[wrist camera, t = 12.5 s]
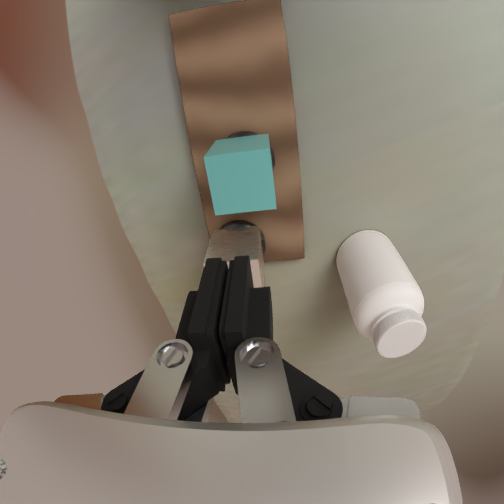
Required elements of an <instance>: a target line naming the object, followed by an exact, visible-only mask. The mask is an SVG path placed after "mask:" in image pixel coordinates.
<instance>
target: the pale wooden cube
mask: <svg viewBox="0 0 504 504" xmlns="http://www.w3.org/2000/svg"><path fill="white" fill-rule="evenodd" d="M265 249H266V246H265V236H264V234H263V232H262V231H261V229H260V227H259V226H257V225H255V224H254V223H252V222H249V221H246V220H233V221H229V222H227V223H225V224H224V225H222V226H221V227H220V228H219V230H213V232H212V235H211V239H210V242H209V245H208V249H207V252H206V255H205V259H204V262H203V266H205V263H206V259H207V258H218V257H221V259H222V261H227V265H228V268H229V262H230V260H234V258H235V256H245V255H249V257H250V264H251V271H252V278H253V285H254V288H258V287H264V259H263V256H264V254H265Z"/></svg>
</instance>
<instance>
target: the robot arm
mask: <svg viewBox="0 0 504 504" xmlns="http://www.w3.org/2000/svg"><path fill="white" fill-rule="evenodd" d="M231 379H232V382H233V386H234V389H235V392H236V394H237V395H239V405H240V414H241V423H211V422H207V421H208V417H209V414H210V411H211V407H212V404H213V397H214V396H215V395H217V394H218V393H219V391H225V384H229V383H230V380H231ZM0 504H463V502H462V495H461V490H460V485H459V480H458V476H457V471H456V468H455V464H454V461H453V458H452V455H451V452H450V449H449V447H448V445H447V443H446V440H445V439H444V437H443V435H442V434H441V433H440V431H439V430H438V429H437V428H436V427H434V426H433V425H431V424H429V423H427V422H425V421H422V420H420V412H419V408H418V406H417V405H416V404H415V402H413V401H411V400H410V399H406V398H387V397H364V396H350V397H349V398H341V397H338V396H337V395H335V394H334V393H333V392H331V391H330V390H328V389H327V388H325V387H324V386H322V385H321V384H319V383H318V382H316V381H315V380H313V379H312V378H310V377H309V376H307V375H306V374H304V373H303V372H301V371H300V370H298V369H297V368H295V367H294V366H292V365H291V364H289V363H288V362H286V361H285V360H284V359H282V357H281V353H280V349H279V347H278V345H277V344H276V343H275V342H274V341H273V317H272V301H271V291H270V287H258V288H254V285H253V278H252V271H251V264H250V257H249V255H245V256H235V258H234V260H230V262H229V268H228V265H227V261H222V259H221V257H218V258H207V259H206V263H205V266H204V270H203V274H202V277H201V281H200V285H199V289H198V291H190V292H189V294H188V296H187V300H186V303H185V307H184V310H183V314H182V317H181V321H180V324H179V328H178V331H177V335H176V339H171V340H167V341H165V342H163V343H161V344H160V345H159V346H158V347H157V348H156V349H155V351H154V352H153V354H152V356H151V358H150V360H149V362H148V364H147V366H146V368H145V370H143V371H141V372H140V373H138V374H137V375H135V376H134V377H132V378H131V379H129V380H127V381H126V382H124V383H123V384H121V385H119V386H118V387H116V388H115V389H113V390H111V391H110V392H109V393H108V394H107V395H105V396H104V395H103V394H102V393H98V394H84V395H66V396H61V397H59V398H57V399H56V400H55V401H54V402H50V401H45V402H44V401H41V402H33V403H28V404H24V405H22V406H19V407H18V408H16V409H15V410H14V411H13V412H12V413H11V415H10V416H9V418H8V419H7V421H6V423H5V425H4V427H3V429H2V431H1V434H0Z"/></svg>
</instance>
